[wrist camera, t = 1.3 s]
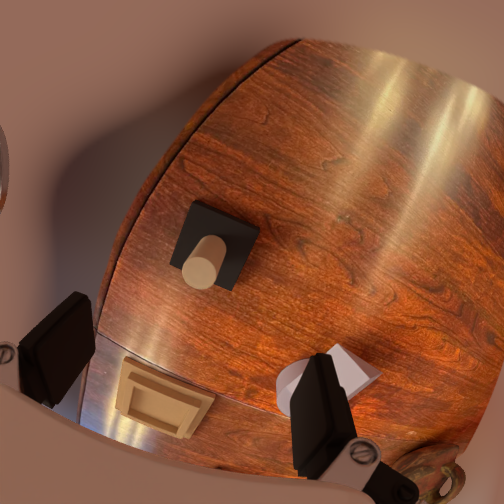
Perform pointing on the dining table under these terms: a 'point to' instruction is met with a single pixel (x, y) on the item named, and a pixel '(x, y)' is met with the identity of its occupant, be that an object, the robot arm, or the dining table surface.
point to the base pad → (160, 400)
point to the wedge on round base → (347, 368)
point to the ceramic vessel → (433, 471)
